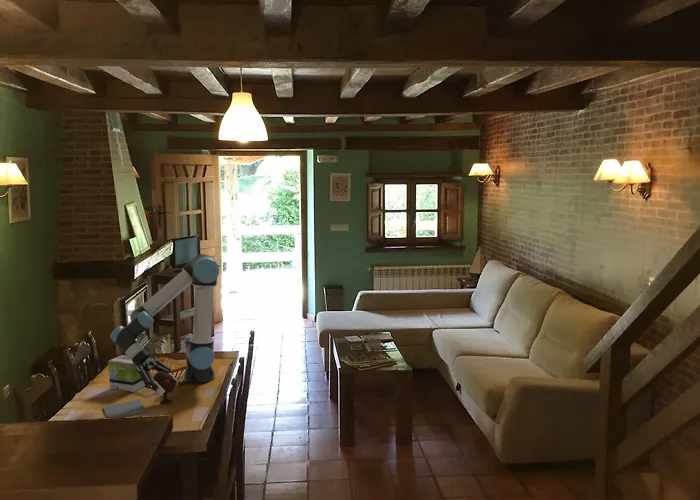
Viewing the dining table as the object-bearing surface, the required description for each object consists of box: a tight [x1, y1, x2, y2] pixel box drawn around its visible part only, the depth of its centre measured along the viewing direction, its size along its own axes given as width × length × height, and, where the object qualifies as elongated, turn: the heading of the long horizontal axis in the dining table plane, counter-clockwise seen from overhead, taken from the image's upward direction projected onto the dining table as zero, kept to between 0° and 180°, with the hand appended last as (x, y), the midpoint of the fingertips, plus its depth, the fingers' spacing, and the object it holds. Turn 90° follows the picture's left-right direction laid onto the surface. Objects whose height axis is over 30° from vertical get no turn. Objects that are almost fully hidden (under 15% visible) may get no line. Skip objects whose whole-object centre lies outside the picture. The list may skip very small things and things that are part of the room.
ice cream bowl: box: [151, 371, 178, 405], centre depth 284 cm, size 11×11×15 cm
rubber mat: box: [102, 399, 147, 419], centre depth 278 cm, size 16×16×1 cm
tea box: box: [107, 354, 146, 393], centre depth 306 cm, size 15×10×15 cm, turn 68°
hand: (170, 388), depth 284 cm, fingers closed on ice cream bowl, 11 cm apart
